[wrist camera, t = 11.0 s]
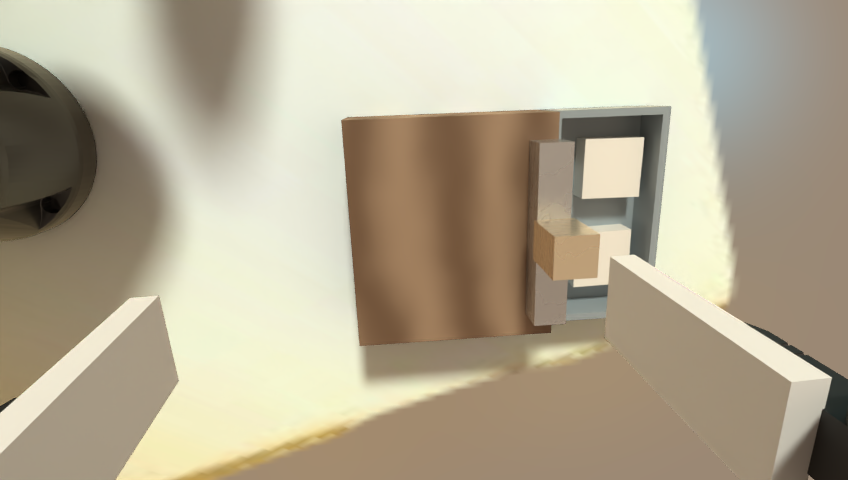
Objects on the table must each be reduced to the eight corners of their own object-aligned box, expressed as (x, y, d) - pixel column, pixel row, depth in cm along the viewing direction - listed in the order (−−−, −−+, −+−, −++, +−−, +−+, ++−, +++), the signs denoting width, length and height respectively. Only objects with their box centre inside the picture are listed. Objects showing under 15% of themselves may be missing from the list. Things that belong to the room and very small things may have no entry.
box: (533, 303, 47) (546, 321, 43) (539, 109, 42) (554, 110, 38) (628, 297, 47) (649, 314, 43) (645, 105, 42) (671, 106, 38)
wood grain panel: (362, 314, 46) (359, 345, 40) (347, 117, 41) (341, 120, 35) (530, 303, 47) (550, 332, 41) (535, 109, 42) (559, 111, 36)
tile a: (627, 282, 44) (617, 275, 46) (631, 229, 43) (620, 223, 44) (573, 287, 44) (565, 279, 46) (575, 233, 42) (566, 227, 44)
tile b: (638, 196, 42) (627, 192, 44) (644, 137, 40) (632, 135, 42) (581, 199, 41) (573, 194, 43) (585, 139, 40) (576, 137, 42)
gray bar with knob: (522, 312, 40) (549, 355, 34) (526, 140, 36) (558, 149, 30) (557, 310, 40) (592, 352, 34) (565, 138, 36) (606, 147, 30)
